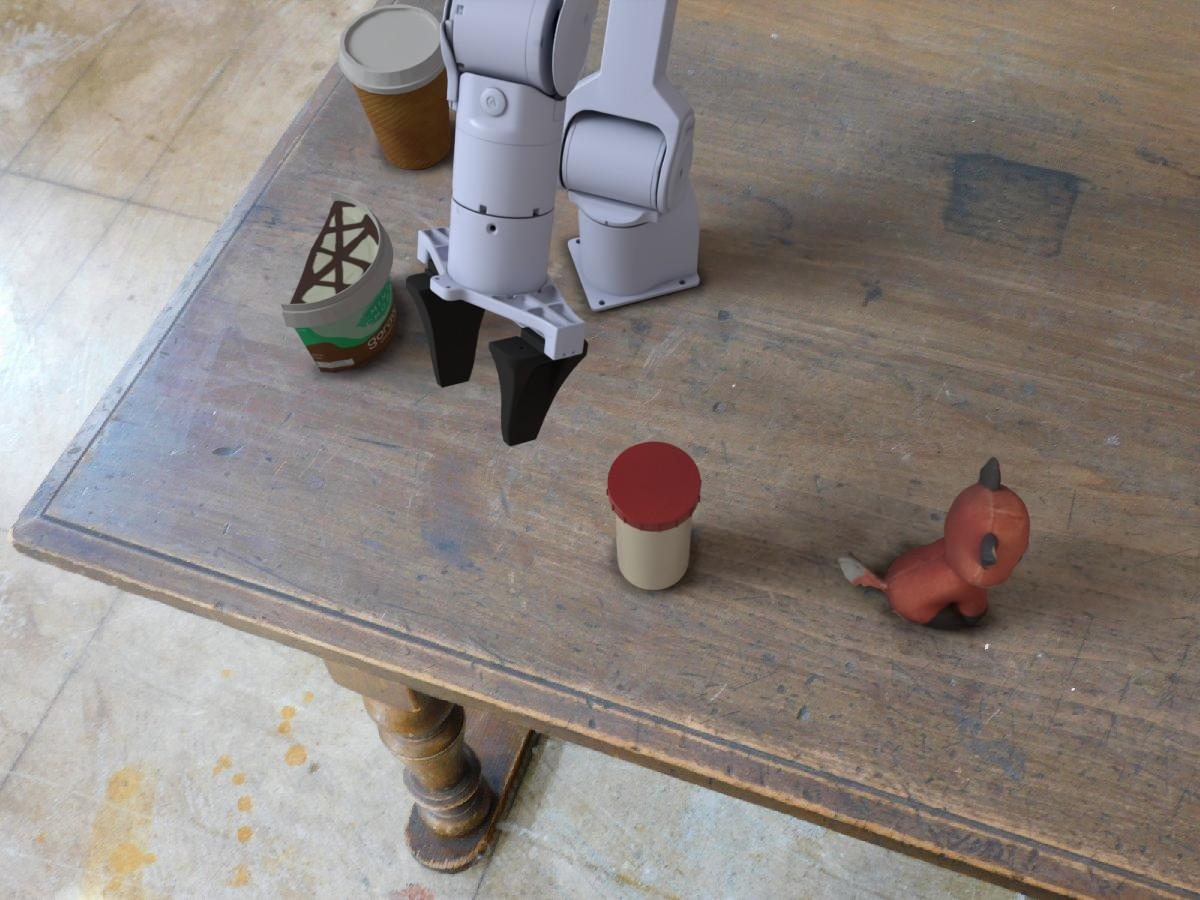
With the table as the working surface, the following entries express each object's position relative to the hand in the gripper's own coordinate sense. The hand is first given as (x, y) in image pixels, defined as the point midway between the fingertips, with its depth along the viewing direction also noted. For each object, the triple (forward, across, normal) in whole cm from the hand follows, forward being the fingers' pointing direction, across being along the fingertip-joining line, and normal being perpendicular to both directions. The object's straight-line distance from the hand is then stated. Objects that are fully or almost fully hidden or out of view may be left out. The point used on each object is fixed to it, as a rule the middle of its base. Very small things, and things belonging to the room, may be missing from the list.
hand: (485, 410), depth 67 cm
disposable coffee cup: (-2, -39, +18) cm, 43 cm away
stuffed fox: (+11, +18, +26) cm, 33 cm away
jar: (+13, +5, +12) cm, 19 cm away
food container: (+8, -25, +6) cm, 27 cm away
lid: (+3, +8, +8) cm, 12 cm away
